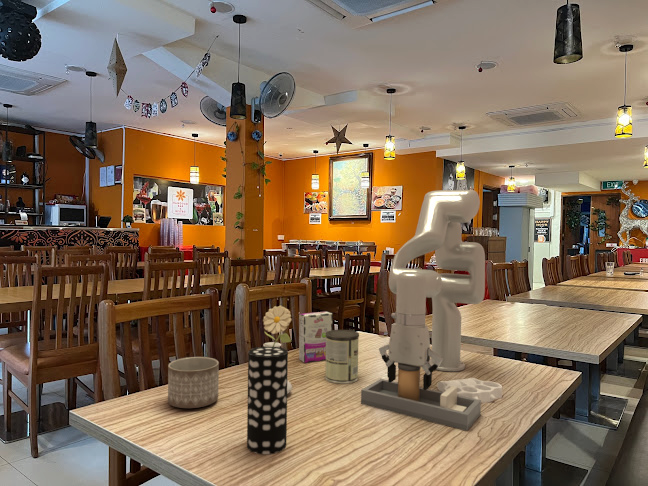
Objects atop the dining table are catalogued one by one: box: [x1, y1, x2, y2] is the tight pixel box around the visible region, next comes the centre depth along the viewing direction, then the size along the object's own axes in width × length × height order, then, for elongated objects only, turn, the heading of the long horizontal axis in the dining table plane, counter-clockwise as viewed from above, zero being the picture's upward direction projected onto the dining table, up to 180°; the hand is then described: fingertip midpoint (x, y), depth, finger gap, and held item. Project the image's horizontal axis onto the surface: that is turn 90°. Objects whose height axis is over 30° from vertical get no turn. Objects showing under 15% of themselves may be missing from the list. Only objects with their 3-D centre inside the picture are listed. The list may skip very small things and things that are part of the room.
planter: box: [167, 356, 220, 409], centre depth 122 cm, size 13×13×10 cm
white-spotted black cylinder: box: [246, 346, 289, 455], centre depth 99 cm, size 8×8×20 cm
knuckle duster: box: [436, 377, 503, 404], centre depth 131 cm, size 3×18×15 cm
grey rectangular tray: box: [360, 378, 482, 431], centre depth 120 cm, size 11×28×4 cm, turn 57°
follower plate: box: [440, 386, 467, 412], centre depth 115 cm, size 8×4×5 cm, turn 147°
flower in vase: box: [262, 305, 293, 395], centre depth 128 cm, size 13×11×25 cm
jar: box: [397, 363, 422, 401], centre depth 122 cm, size 6×6×10 cm
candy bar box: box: [298, 311, 333, 364], centre depth 163 cm, size 11×5×16 cm, turn 117°
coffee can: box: [324, 329, 360, 385], centre depth 143 cm, size 10×10×14 cm
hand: (408, 384), depth 122 cm, fingers open, 9 cm apart
